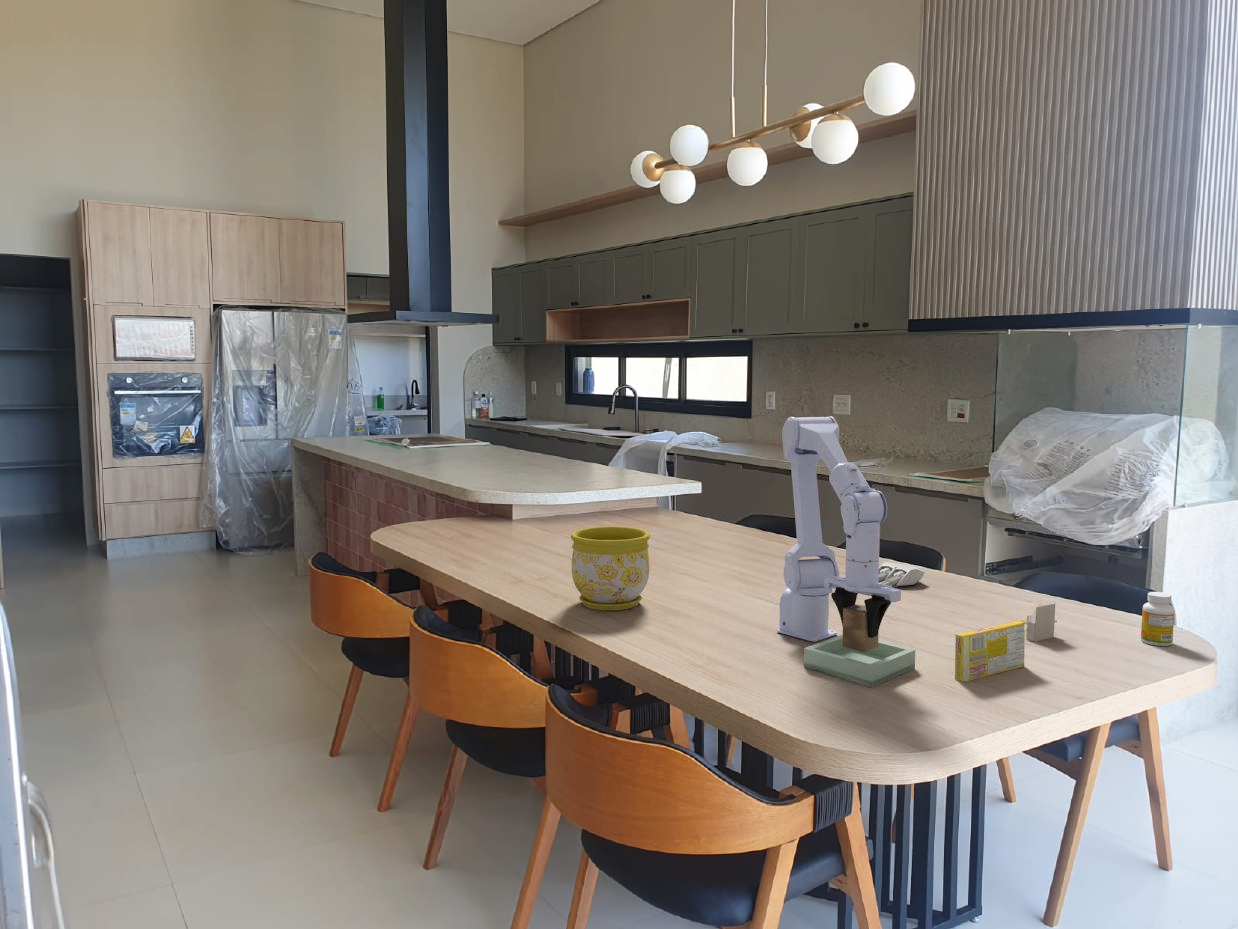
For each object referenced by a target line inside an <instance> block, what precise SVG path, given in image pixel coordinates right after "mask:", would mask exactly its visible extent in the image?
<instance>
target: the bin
mask: <svg viewBox="0 0 1238 929" xmlns="http://www.w3.org/2000/svg"><path fill="white" fill-rule="evenodd" d="M842 640H843V634H841V635H838V636H835V637H832V638H829V639H827V640H824V641H821V642H818V643H815V644H813V645H810V646H807V647H804V649H803V668H806V669H809V670H811V671H816V672H819V673H823V674H824V675H825V674H826V675H829V676H832V677H837V678H839V679H843V680H845V681H849V682H853V683H855V684H859V685H861V686H862V685H863V686H865V687H869V688H873V687H877V686H878V685H881V684H883V683H885V682H887V681H889V680H892V679H894V678H897V677H900V676H901V675H903V674H906V673H908V672H911V671H913V670H915V669H916V649H913V648H911V647H906V646H903V645H897V644H895V643H890V642H886V641H882V640H879V639H878V647H876V648H874V649H871V650H869V651H866V652H861V651H858V650H854V649H850V648H846V647H843V646H842Z"/></svg>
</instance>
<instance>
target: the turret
mask: <svg viewBox="0 0 1238 929" xmlns="http://www.w3.org/2000/svg"><path fill="white" fill-rule="evenodd" d="M925 574H926V572H925V571H924V570H922V569H920V568H919V567H918V566H917V565H913V564H903V563H896V562H891V561H884V562H883V563H882V564H881V565H879V575H878V583H880V584H883V585H886V586H889V587H892V588H897V587H904V586H910V585H911V586H913V585H915V584H917V583H919V581H921V580H922V579H923V577H924V576H925Z"/></svg>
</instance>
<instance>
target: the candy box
mask: <svg viewBox="0 0 1238 929" xmlns="http://www.w3.org/2000/svg"><path fill="white" fill-rule="evenodd" d="M1025 625H1026V624H1025V623H1023V622H1021V621H1019V620H1018V621H1017V620H1016V621H1012V622H1008V623H1003V624H1002V623H1001V624H996V625H993V626H989V627H985V628H979V629H974V630H971V631H970V630H969V631H967V632H966V631H965V632H961V633H957V634H955V644H954V645H955V650H954V651H955V656H954V660H955V662H954V680H956V681H959V682H962V683H964V681H965V682H968V681H972V680H977V679H981V678H985V677H988V676H992V675H997V674H1001V673H1005V672H1008V671H1009V672H1010V671H1012V670H1017V669H1020V668H1025Z"/></svg>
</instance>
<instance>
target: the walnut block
mask: <svg viewBox="0 0 1238 929" xmlns="http://www.w3.org/2000/svg"><path fill="white" fill-rule="evenodd" d="M879 631H880V630H879ZM879 631H878V635H877V636H876V637H873V638H869V637H868V633H867V611H866V606H865V604H864V605H863V604H861V603H860V604H859V603H855V605H853V606H850V607H846V608H843V626H842V635H843V640H842V646H843V647H846V648H850V649H854V650H858V651H861V652H866V651H869V650H871V649H874V648H876V647H878V640H879V634H880V633H879Z"/></svg>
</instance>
